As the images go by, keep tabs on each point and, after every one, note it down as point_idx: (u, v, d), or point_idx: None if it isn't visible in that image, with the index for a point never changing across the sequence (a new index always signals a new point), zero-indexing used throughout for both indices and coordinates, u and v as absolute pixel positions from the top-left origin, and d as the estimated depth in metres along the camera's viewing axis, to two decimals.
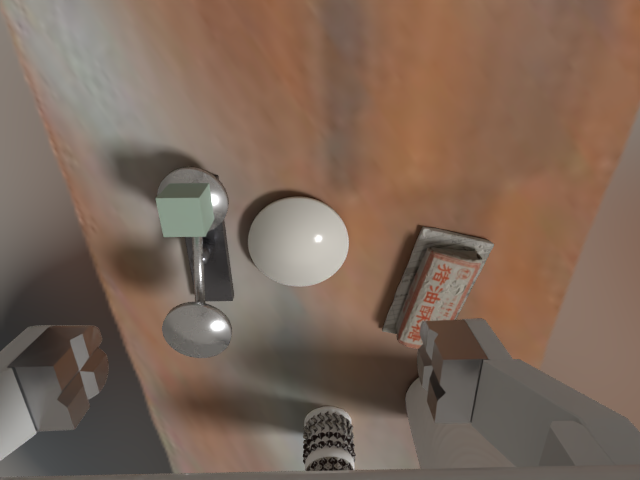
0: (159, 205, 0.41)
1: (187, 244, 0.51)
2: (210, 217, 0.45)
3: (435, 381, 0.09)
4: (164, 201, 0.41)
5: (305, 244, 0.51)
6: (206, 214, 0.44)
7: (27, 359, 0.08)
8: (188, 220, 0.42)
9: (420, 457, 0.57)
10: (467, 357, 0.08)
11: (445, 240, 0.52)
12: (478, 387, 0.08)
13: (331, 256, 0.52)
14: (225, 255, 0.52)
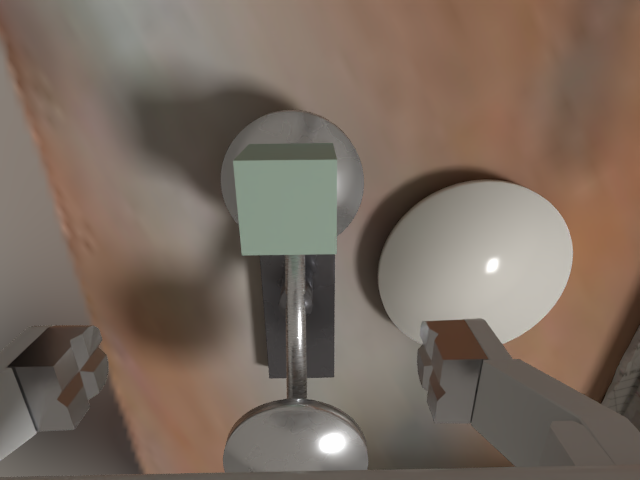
0: (241, 177, 0.17)
1: (263, 274, 0.27)
2: None
3: (435, 381, 0.09)
4: (254, 167, 0.17)
5: (488, 274, 0.27)
6: None
7: (27, 358, 0.08)
8: (304, 216, 0.18)
9: None
10: (467, 357, 0.08)
11: None
12: (478, 387, 0.08)
13: (532, 296, 0.28)
14: (332, 295, 0.28)
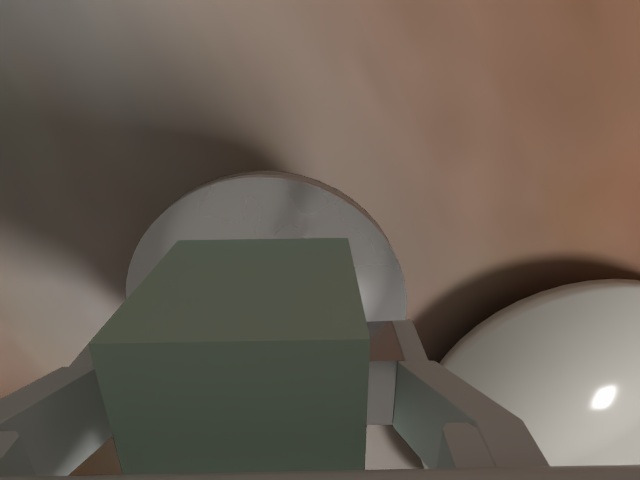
0: (116, 382, 0.07)
1: None
2: None
3: None
4: (148, 359, 0.06)
5: (603, 427, 0.16)
6: None
7: None
8: (285, 458, 0.07)
9: None
10: (384, 358, 0.08)
11: None
12: (396, 388, 0.08)
13: None
14: None
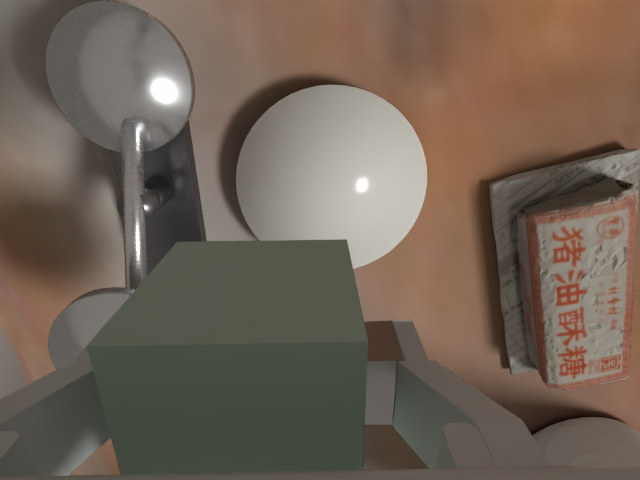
0: (114, 383, 0.07)
1: (122, 189, 0.27)
2: None
3: None
4: (146, 361, 0.06)
5: (345, 185, 0.27)
6: None
7: None
8: (284, 460, 0.07)
9: None
10: (384, 358, 0.08)
11: (542, 186, 0.28)
12: (396, 389, 0.08)
13: (393, 209, 0.28)
14: (194, 211, 0.28)
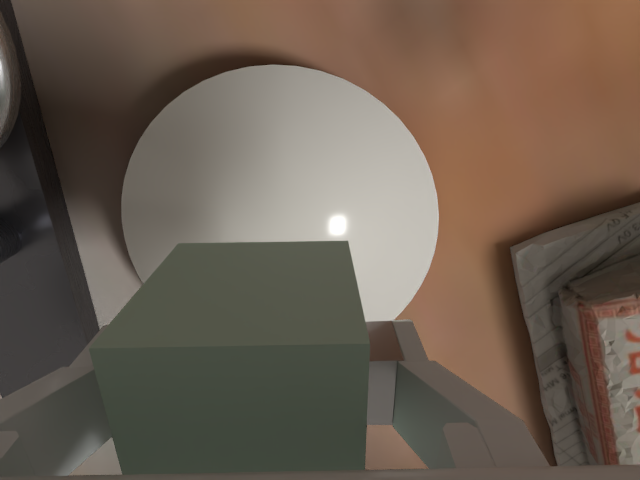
0: (116, 385, 0.07)
1: None
2: None
3: None
4: (148, 363, 0.06)
5: (303, 233, 0.16)
6: None
7: None
8: (285, 461, 0.07)
9: None
10: (384, 359, 0.08)
11: (597, 247, 0.18)
12: (396, 389, 0.08)
13: (382, 272, 0.17)
14: (62, 269, 0.17)
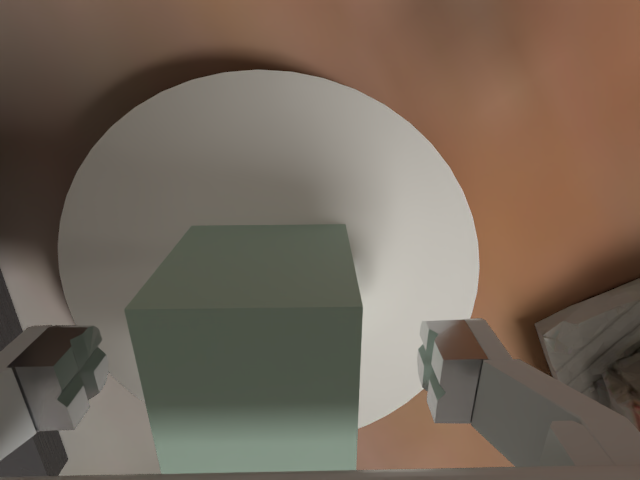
0: (147, 342, 0.08)
1: None
2: None
3: (435, 381, 0.09)
4: (174, 323, 0.08)
5: None
6: None
7: (27, 359, 0.08)
8: (290, 410, 0.09)
9: None
10: (467, 357, 0.08)
11: None
12: (478, 387, 0.08)
13: (403, 338, 0.13)
14: None
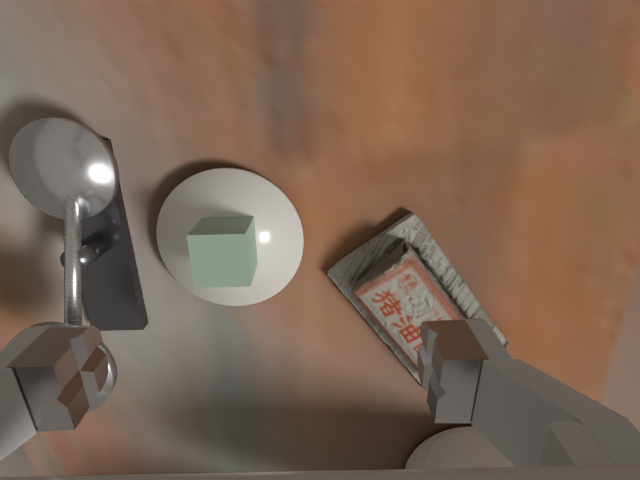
0: (191, 244, 0.31)
1: None
2: (254, 261, 0.34)
3: (435, 381, 0.09)
4: (198, 238, 0.30)
5: None
6: (251, 256, 0.33)
7: (27, 359, 0.08)
8: (229, 265, 0.31)
9: None
10: (467, 357, 0.08)
11: (363, 261, 0.37)
12: (478, 387, 0.08)
13: (279, 258, 0.36)
14: (127, 259, 0.36)
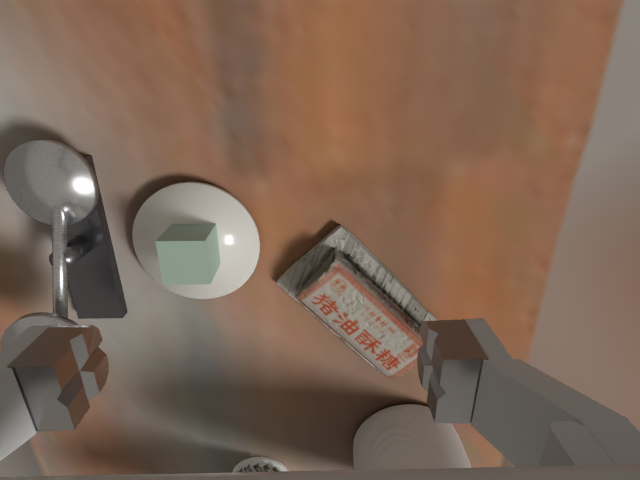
0: (159, 248, 0.36)
1: None
2: (216, 261, 0.40)
3: (435, 381, 0.09)
4: (165, 244, 0.36)
5: None
6: (212, 259, 0.39)
7: (27, 358, 0.08)
8: (192, 266, 0.37)
9: None
10: (467, 357, 0.08)
11: (304, 269, 0.43)
12: (477, 387, 0.08)
13: (239, 259, 0.42)
14: (107, 258, 0.42)
